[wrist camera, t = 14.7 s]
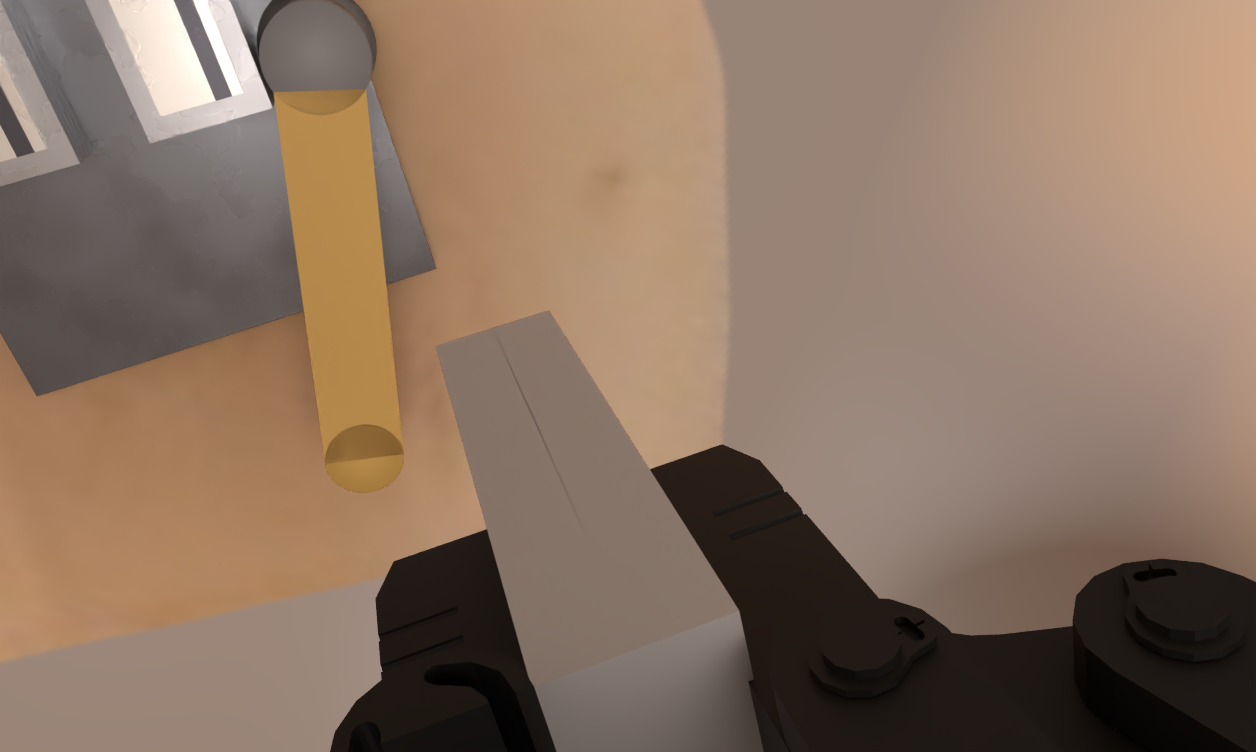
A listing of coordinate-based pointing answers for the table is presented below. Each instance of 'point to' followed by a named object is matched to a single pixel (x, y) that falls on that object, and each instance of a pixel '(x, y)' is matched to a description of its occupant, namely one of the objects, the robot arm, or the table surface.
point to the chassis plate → (152, 183)
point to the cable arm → (337, 234)
